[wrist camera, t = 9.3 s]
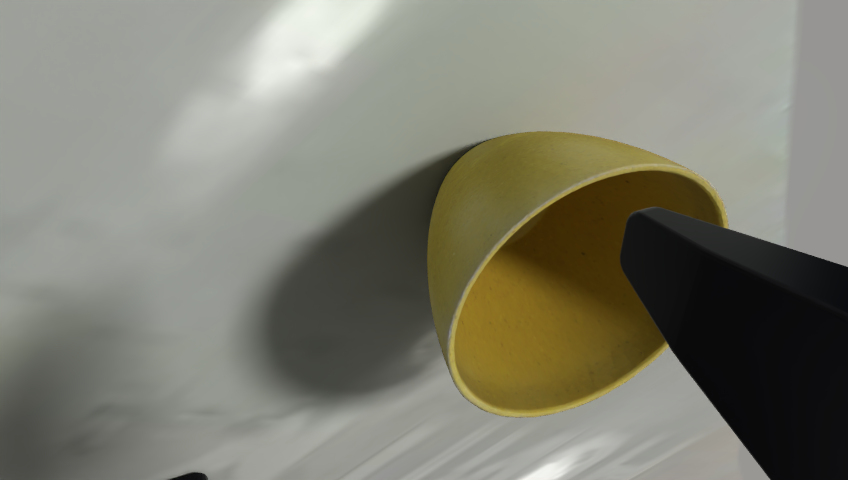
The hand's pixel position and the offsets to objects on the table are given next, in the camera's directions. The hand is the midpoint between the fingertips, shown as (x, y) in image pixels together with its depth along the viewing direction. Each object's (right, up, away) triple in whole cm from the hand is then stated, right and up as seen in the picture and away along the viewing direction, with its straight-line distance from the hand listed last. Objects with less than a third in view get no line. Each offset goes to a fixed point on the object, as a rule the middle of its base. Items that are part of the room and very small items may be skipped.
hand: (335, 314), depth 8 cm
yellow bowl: (+4, +3, +17) cm, 18 cm away
